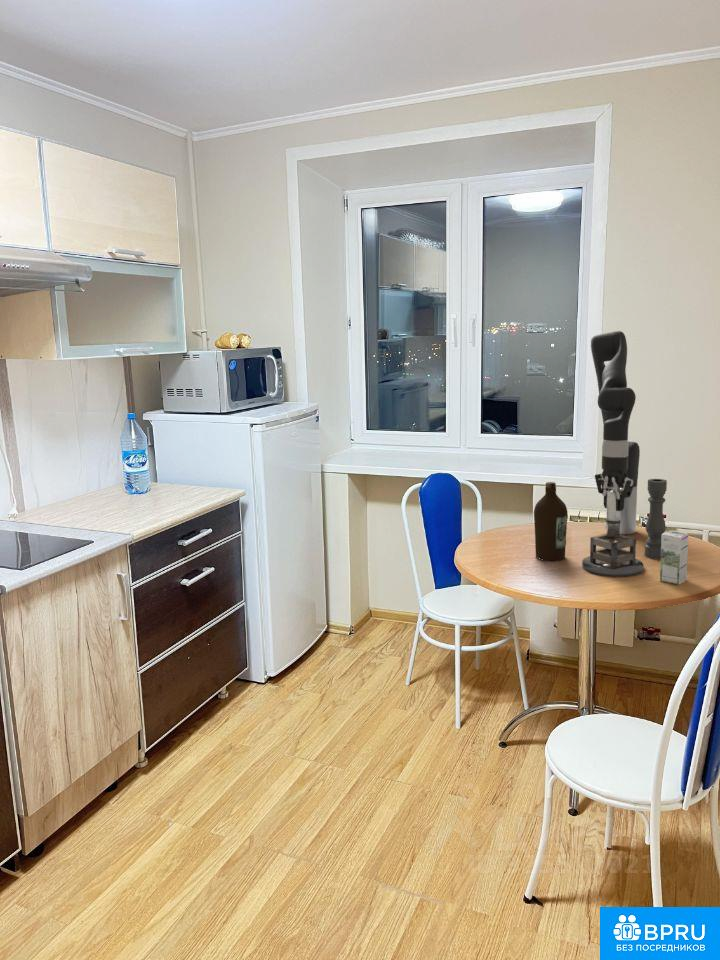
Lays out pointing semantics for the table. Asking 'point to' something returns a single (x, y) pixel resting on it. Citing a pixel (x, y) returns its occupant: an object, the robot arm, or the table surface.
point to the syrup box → (674, 557)
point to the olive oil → (550, 525)
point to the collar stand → (612, 557)
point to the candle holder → (655, 518)
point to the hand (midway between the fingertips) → (613, 509)
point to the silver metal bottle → (612, 515)
